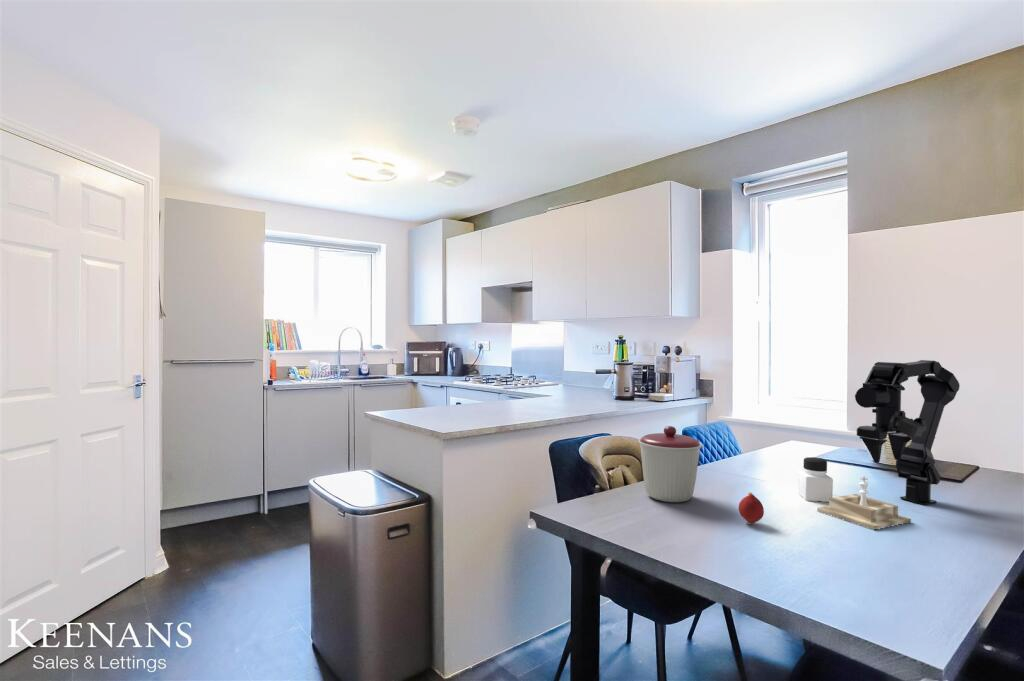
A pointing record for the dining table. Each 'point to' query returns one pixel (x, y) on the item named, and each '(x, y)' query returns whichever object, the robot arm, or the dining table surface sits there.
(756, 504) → the onion
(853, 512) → the socket block
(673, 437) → the canister
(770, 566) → the dining table surface
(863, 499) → the chess piece
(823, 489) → the medicine bottle
